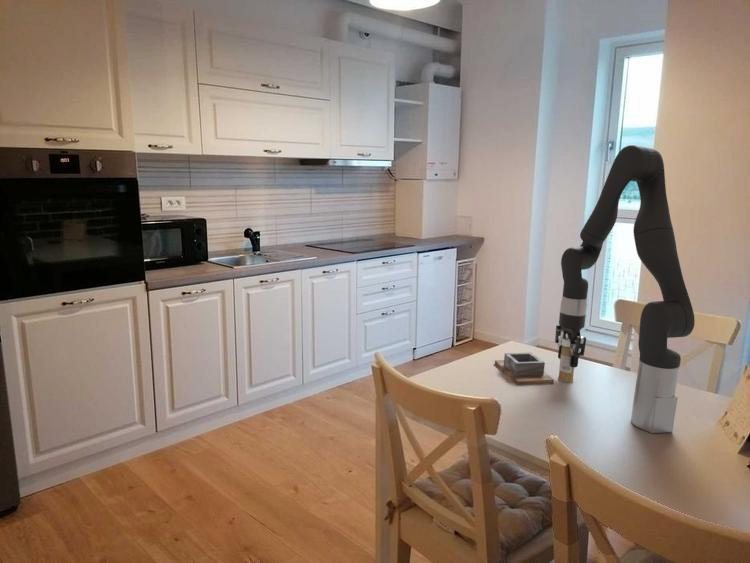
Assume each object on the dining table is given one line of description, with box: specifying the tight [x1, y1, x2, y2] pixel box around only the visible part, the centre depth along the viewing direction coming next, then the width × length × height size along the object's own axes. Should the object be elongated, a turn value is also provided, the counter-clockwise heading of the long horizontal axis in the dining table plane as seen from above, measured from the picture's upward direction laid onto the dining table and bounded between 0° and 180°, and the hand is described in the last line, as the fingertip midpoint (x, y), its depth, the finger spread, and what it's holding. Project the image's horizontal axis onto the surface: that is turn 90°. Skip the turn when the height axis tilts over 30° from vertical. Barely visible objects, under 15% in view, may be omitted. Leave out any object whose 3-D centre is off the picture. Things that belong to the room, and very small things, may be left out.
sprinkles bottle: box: [557, 338, 576, 383], centre depth 169 cm, size 5×5×14 cm
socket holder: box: [494, 352, 555, 386], centre depth 175 cm, size 18×12×5 cm, turn 10°
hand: (567, 362), depth 170 cm, fingers open, 7 cm apart
